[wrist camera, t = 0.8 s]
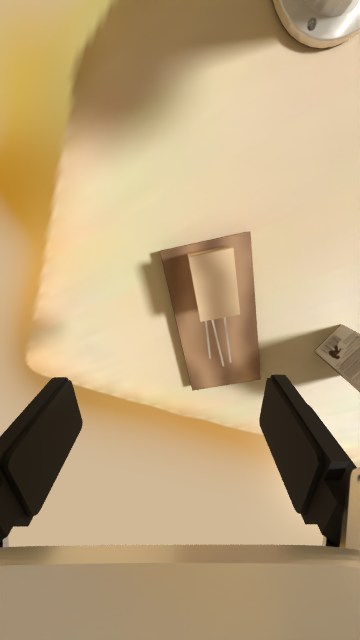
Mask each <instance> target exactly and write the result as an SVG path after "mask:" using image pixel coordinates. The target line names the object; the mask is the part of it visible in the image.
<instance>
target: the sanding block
mask: <svg viewBox="0 0 360 640" xmlns="http://www.w3.org/2000/svg"><path fill="white" fill-rule="evenodd" d="M187 255H188V260H189V266H190V271H191V277H192V282H193V288H194V293H195V298H196V304H197V309H198V313H199V318H200V322H203V321H208V320H213V319H219V318H224V317H229V316H234V315H240V308H239V298H238V288H237V278H236V268H235V258H234V248H232V247H228V246H220V247H216V248H211V249H206V250H202V251H197V252H192V253H188V254H187Z"/></svg>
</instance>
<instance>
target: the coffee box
mask: <svg viewBox="0 0 360 640" xmlns="http://www.w3.org/2000/svg"><path fill="white" fill-rule="evenodd" d="M315 353H316V354H317V355H318V356H320V357H321V358H322V359H323V360H324V361H325V362H326V363H328V364H329V365H330V366H331V367H332V368H333V369H334V370H335V371H337V372H338V373H339V374H340V375H341V376H342V377H343V378H344V379H345V380H347V381H348V382H349V383H350V384H351V385H352V386H353V387H355V388H356V389H357V390H358V391H359V392H360V334H359V333H357V332H355V331H353V330H352V329H350V328H348V327H346V326H344V325H342V324H341V325H340V326H339V327H338V328H337V329H336V330H335V331H334V332H333V333H332V334H331V335H330V336H329V337H328V338H327V339H326V340H325V341H324V342H323V343H322V344H321V345H320V346H319V347H318V348H317V349H316V350H315Z"/></svg>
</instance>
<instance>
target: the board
mask: <svg viewBox="0 0 360 640" xmlns="http://www.w3.org/2000/svg"><path fill="white" fill-rule="evenodd" d="M220 246H228V247H232V248H234V258H235V268H236V278H237V288H238V298H239V308H240V315H234V316H229V317H224V318H219V319H213V320H208V321H203V322H200V318H199V313H198V309H197V304H196V298H195V293H194V288H193V282H192V277H191V271H190V266H189V260H188V255H187V254H188V253H192V252H197V251H202V250H206V249H211V248H216V247H220ZM160 253H161V258H162V262H163V266H164V270H165V275H166V279H167V283H168V288H169V292H170V296H171V301H172V305H173V309H174V313H175V318H176V322H177V326H178V331H179V335H180V339H181V344H182V348H183V352H184V356H185V361H186V365H187V369H188V374H189V378H190V382H191V387H192V391H193V390H199V389H205V388H211V387H217V386H223V385H229V384H235V383H241V382H248V381H254V380H260V379H261V378H260V364H259V349H258V335H257V320H256V306H255V292H254V277H253V263H252V248H251V234H250V232H244V233H239V234H235V235H230V236H226V237H221V238H217V239H212V240H208V241H203V242H198V243H194V244H189V245H185V246H180V247H176V248H171V249H167V250H162V251H160Z"/></svg>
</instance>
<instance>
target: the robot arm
mask: <svg viewBox="0 0 360 640" xmlns="http://www.w3.org/2000/svg"><path fill="white" fill-rule="evenodd" d="M273 2H274V6H275V9H276V12H277V14H278V16H279V18H280V20H281V22H282V24H283V26H284V27H285V28H286V30H287V31H288V32H289V34H290V35H291V36H293V37H294V38H295V39H296V40H298V41H299V42H300V43H303V44H305V45H307V46H310V47H317V48H326V47H332V46H336V45H338V44H341V43H343V42H346V41H347V40H349V39H350V38H352V37H353V36H355V35H356V34H358V33H359V32H360V0H273ZM259 421H260V427H261V429H262V432H263V434H264V437H265V439H266V441H267V444H268V446H269V449H270V451H271V453H272V456H273V458H274V460H275V463H276V465H277V468H278V470H279V472H280V475H281V477H282V480H283V482H284V485H285V487H286V489H287V492H288V494H289V497H290V499H291V501H292V504H293V506H294V508H295V510H296V512H297V513H300V514H301V515H302V518H303V520H304V522H305V524H317V525H318V527H319V529H320V531H321V533H322V535H324V538H323V544H322V546H308V545H307V546H306V545H99V546H98V545H97V546H28V547H27V546H26V547H8V534H9V533H10V531H11V529H12V527H13V526H29V524H30V522H31V520H32V518H33V516H35V515H37V514H38V513H39V511H40V509H41V508H42V505H43V504H44V502H45V500H46V498H47V496H48V494H49V492H50V490H51V488H52V486H53V483H54V482H55V480H56V478H57V476H58V474H59V472H60V470H61V468H62V466H63V464H64V462H65V460H66V458H67V456H68V454H69V452H70V450H71V448H72V446H73V444H74V442H75V440H76V438H77V436H78V434H79V433H80V431H81V428H82V418H81V414H80V410H79V407H78V403H77V400H76V396H75V392H74V388H73V385H72V382H71V381H70V380H68V378H66V377H54V378H52V379H51V380H50V381H49V382H48V383H47V385H46V386H45V387H44V388H43V389H42V390H41V391H40V393H39V394H38V395H37V396H36V397H35V398H34V399H33V400H32V401H31V403H30V404H29V405H28V406H27V407H26V408H25V409H24V410H23V412H22V413H21V414H20V415H19V416H18V417H17V418H16V419H15V421H14V422H13V423H12V424H11V425H10V426H9V428H8V429H7V430H6V431H5V432H4V433H3V434H2V435H1V437H0V640H360V468H357V467H356V466H355V465H354V463H353V462H352V461H351V459H350V458H349V457H348V455H347V454H346V453H345V451H344V450H343V449H342V447H341V446H340V445H339V443H338V442H337V441H336V439H335V438H334V437H333V435H332V434H331V433H330V431H329V430H328V429H327V427H326V426H325V425H324V424H323V422H322V421H321V420H320V418H319V417H318V416H317V414H316V413H315V412H314V410H313V409H312V408H311V407H310V406H309V405H308V404H307V403H306V402H305V401H304V399H303V398H302V397H301V395H300V394H299V393H298V391H297V390H296V389H295V387H294V386H293V385H292V383H291V382H290V381H289V379H288V378H287V377H286V376H285V375H271V377H270V378H268V379H267V381H266V387H265V392H264V397H263V403H262V408H261V414H260V420H259Z"/></svg>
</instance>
